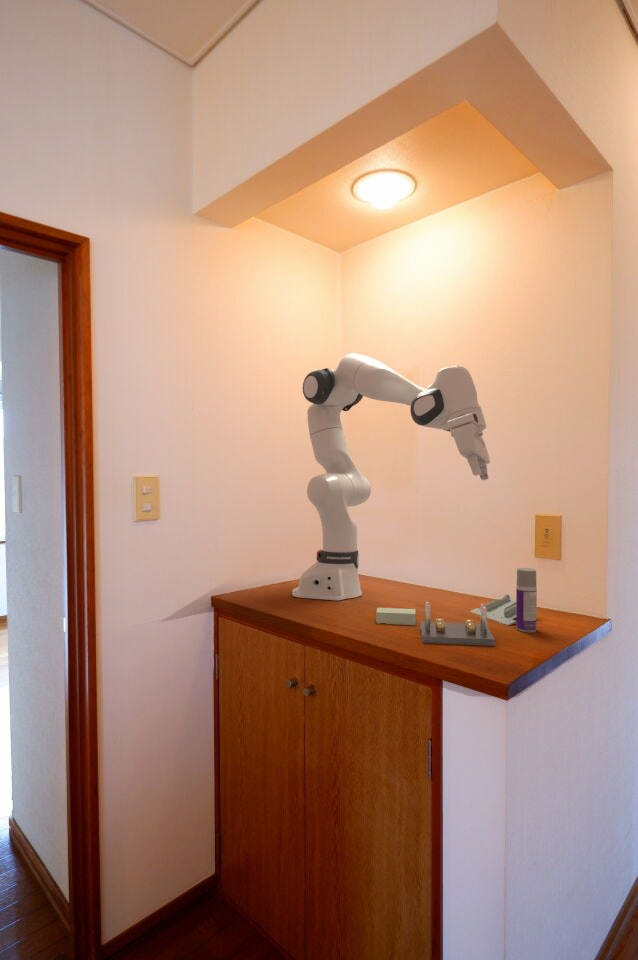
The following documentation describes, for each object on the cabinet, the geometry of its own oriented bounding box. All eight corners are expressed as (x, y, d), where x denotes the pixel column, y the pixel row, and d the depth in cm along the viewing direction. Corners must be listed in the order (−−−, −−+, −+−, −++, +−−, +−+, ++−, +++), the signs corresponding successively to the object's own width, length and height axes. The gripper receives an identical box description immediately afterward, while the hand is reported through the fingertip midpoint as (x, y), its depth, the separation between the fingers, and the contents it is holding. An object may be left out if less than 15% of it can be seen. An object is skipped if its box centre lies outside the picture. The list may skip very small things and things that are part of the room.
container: (513, 627, 136) (513, 567, 136) (532, 627, 136) (532, 567, 136) (519, 632, 131) (520, 571, 131) (539, 632, 131) (539, 571, 131)
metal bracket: (503, 589, 156) (543, 599, 142) (507, 607, 157) (548, 620, 143) (464, 607, 150) (503, 620, 137) (469, 627, 151) (508, 642, 137)
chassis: (422, 642, 123) (422, 610, 123) (420, 627, 136) (420, 597, 136) (495, 646, 121) (495, 612, 121) (485, 629, 134) (485, 599, 134)
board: (376, 624, 140) (376, 612, 140) (377, 619, 145) (377, 607, 145) (415, 626, 138) (415, 613, 138) (415, 621, 143) (415, 609, 143)
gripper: (464, 437, 147) (477, 485, 144) (444, 420, 129) (459, 475, 126) (487, 429, 145) (501, 478, 141) (470, 412, 127) (486, 467, 123)
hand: (481, 477), depth 134 cm, fingers open, 8 cm apart
